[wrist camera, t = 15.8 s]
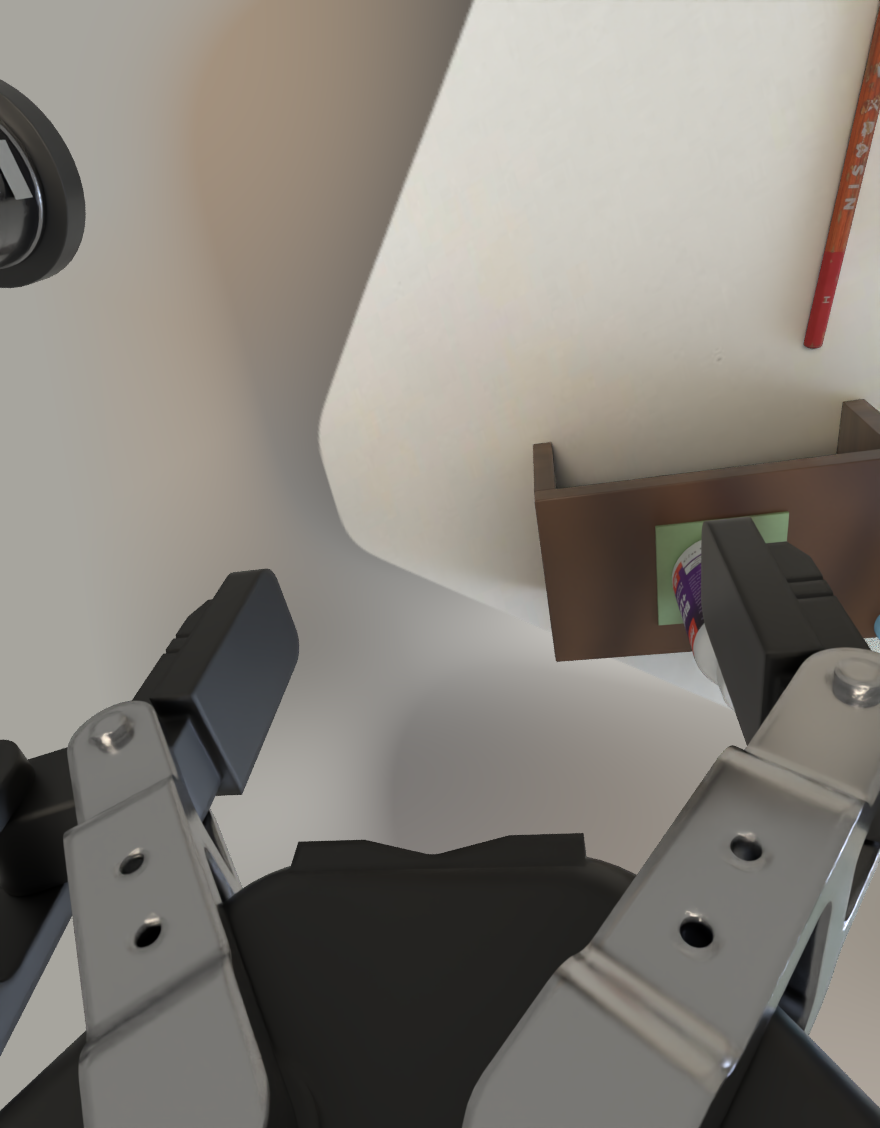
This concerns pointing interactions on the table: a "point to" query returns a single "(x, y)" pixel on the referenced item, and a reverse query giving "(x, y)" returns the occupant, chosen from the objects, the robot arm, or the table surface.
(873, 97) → the pencil
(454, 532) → the table surface
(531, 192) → the table surface
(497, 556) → the table surface
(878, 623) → the teapot
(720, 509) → the shelf
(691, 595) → the pill bottle
